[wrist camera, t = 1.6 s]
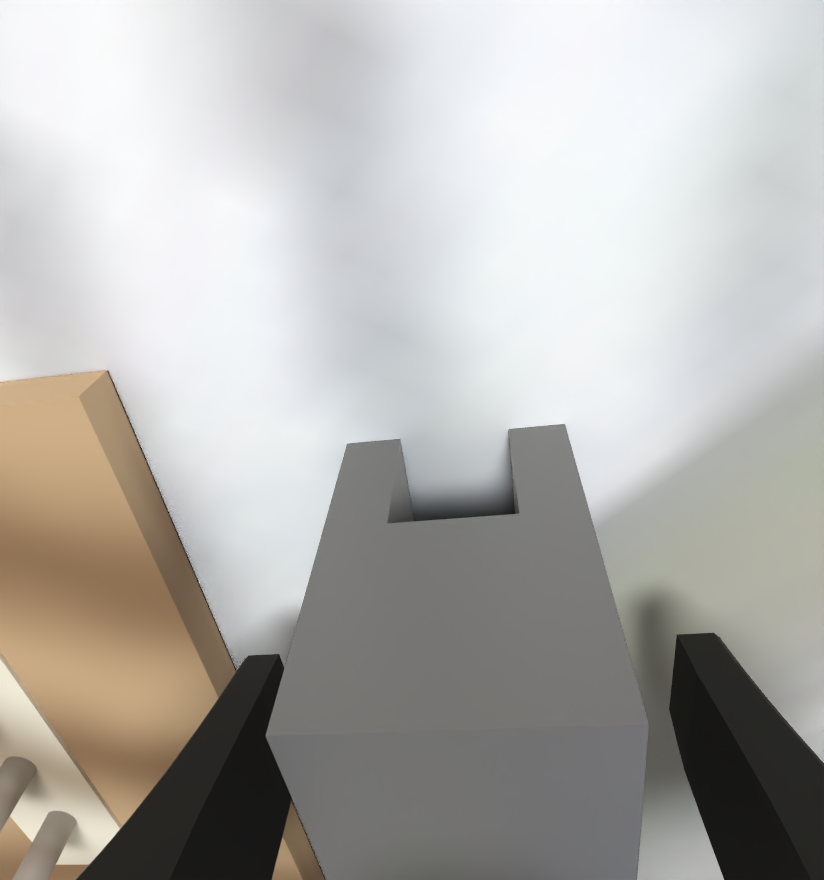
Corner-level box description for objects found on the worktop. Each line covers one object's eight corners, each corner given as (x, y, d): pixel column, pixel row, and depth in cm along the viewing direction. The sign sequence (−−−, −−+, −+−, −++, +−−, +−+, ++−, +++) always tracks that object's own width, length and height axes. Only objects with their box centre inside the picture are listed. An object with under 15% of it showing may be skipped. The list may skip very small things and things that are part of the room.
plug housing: (571, 705, 16) (625, 1026, 10) (408, 711, 16) (385, 1019, 11) (564, 422, 11) (649, 723, 6) (347, 443, 12) (265, 736, 7)
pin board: (335, 903, 22) (318, 1017, 19) (13, 902, 23) (-42, 1007, 21) (106, 370, 11) (6, 463, 9) (-443, 431, 13) (-664, 526, 10)
